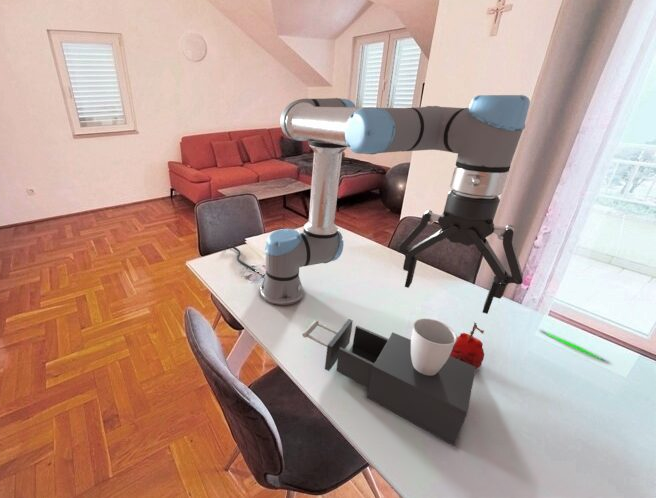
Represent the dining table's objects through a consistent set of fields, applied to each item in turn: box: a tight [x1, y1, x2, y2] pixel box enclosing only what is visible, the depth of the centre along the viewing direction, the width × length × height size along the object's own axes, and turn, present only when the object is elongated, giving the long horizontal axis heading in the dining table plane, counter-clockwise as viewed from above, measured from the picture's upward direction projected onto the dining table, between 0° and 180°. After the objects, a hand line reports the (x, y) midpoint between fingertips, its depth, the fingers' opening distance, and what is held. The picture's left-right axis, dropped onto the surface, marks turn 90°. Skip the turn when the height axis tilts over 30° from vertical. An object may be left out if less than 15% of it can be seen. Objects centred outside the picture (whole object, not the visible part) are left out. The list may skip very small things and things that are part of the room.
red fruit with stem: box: [450, 321, 485, 371], centre depth 80 cm, size 8×7×15 cm
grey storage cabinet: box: [366, 332, 477, 447], centre depth 71 cm, size 18×14×10 cm
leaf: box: [543, 331, 606, 362], centre depth 89 cm, size 1×14×1 cm, turn 32°
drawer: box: [302, 318, 389, 389], centre depth 81 cm, size 25×13×8 cm, turn 51°
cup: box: [410, 318, 458, 376], centre depth 68 cm, size 8×8×10 cm
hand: (444, 296), depth 62 cm, fingers open, 13 cm apart
